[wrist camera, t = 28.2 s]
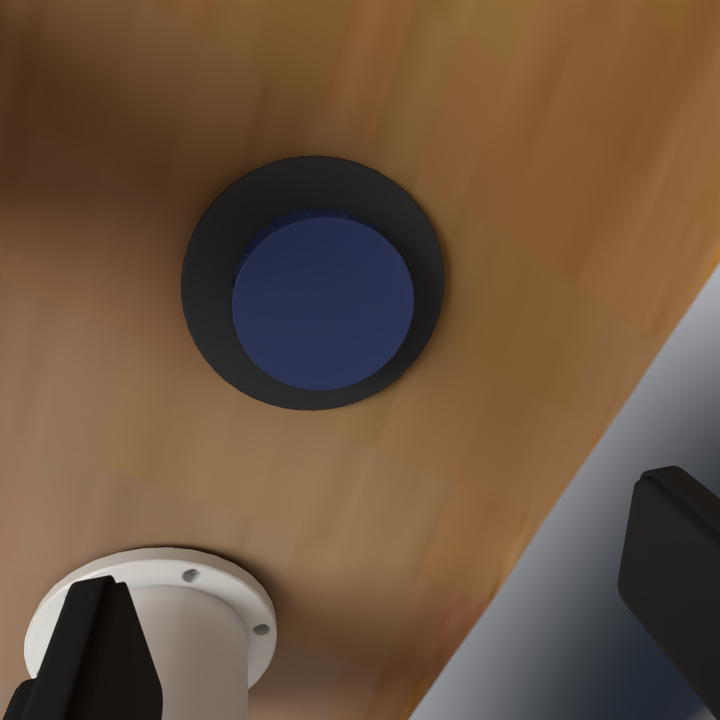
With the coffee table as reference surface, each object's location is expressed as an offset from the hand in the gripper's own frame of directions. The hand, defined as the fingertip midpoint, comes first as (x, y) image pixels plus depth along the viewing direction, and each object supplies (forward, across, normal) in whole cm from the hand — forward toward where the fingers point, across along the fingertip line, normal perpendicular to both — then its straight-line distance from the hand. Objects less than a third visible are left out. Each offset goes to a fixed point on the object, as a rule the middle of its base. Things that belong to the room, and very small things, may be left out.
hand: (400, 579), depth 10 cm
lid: (+13, 0, -1) cm, 13 cm away
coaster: (+15, 0, -1) cm, 15 cm away
